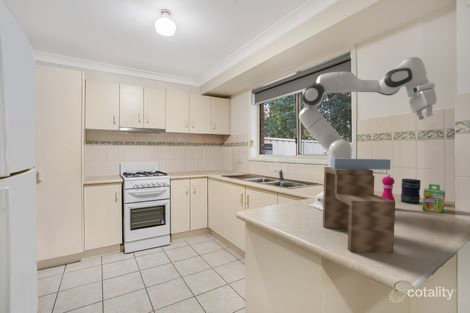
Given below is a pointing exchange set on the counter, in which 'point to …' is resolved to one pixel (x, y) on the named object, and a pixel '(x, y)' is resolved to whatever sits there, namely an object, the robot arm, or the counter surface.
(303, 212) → the counter surface
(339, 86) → the robot arm
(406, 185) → the storage jar
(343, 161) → the beam
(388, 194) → the pepper mill
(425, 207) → the chalk box
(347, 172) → the step shelf
